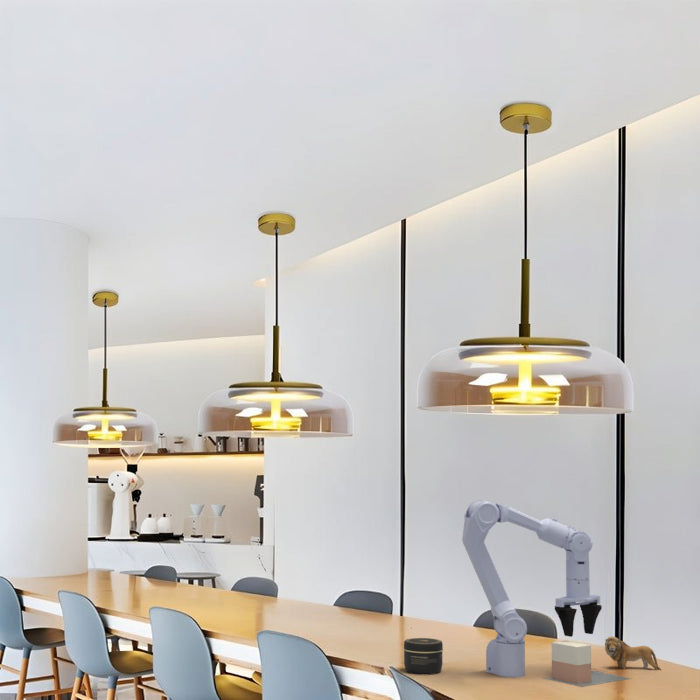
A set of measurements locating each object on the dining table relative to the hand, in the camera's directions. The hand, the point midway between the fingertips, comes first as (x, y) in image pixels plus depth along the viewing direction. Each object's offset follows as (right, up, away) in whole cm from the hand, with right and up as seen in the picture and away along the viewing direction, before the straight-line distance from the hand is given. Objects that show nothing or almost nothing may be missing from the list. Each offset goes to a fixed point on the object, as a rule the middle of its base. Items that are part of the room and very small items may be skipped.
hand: (578, 634), depth 249 cm
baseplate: (0, -10, -7) cm, 12 cm away
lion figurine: (+15, -12, +6) cm, 20 cm away
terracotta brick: (-4, -8, -9) cm, 13 cm away
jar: (-38, -11, +5) cm, 40 cm away
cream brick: (-4, -4, -8) cm, 10 cm away
